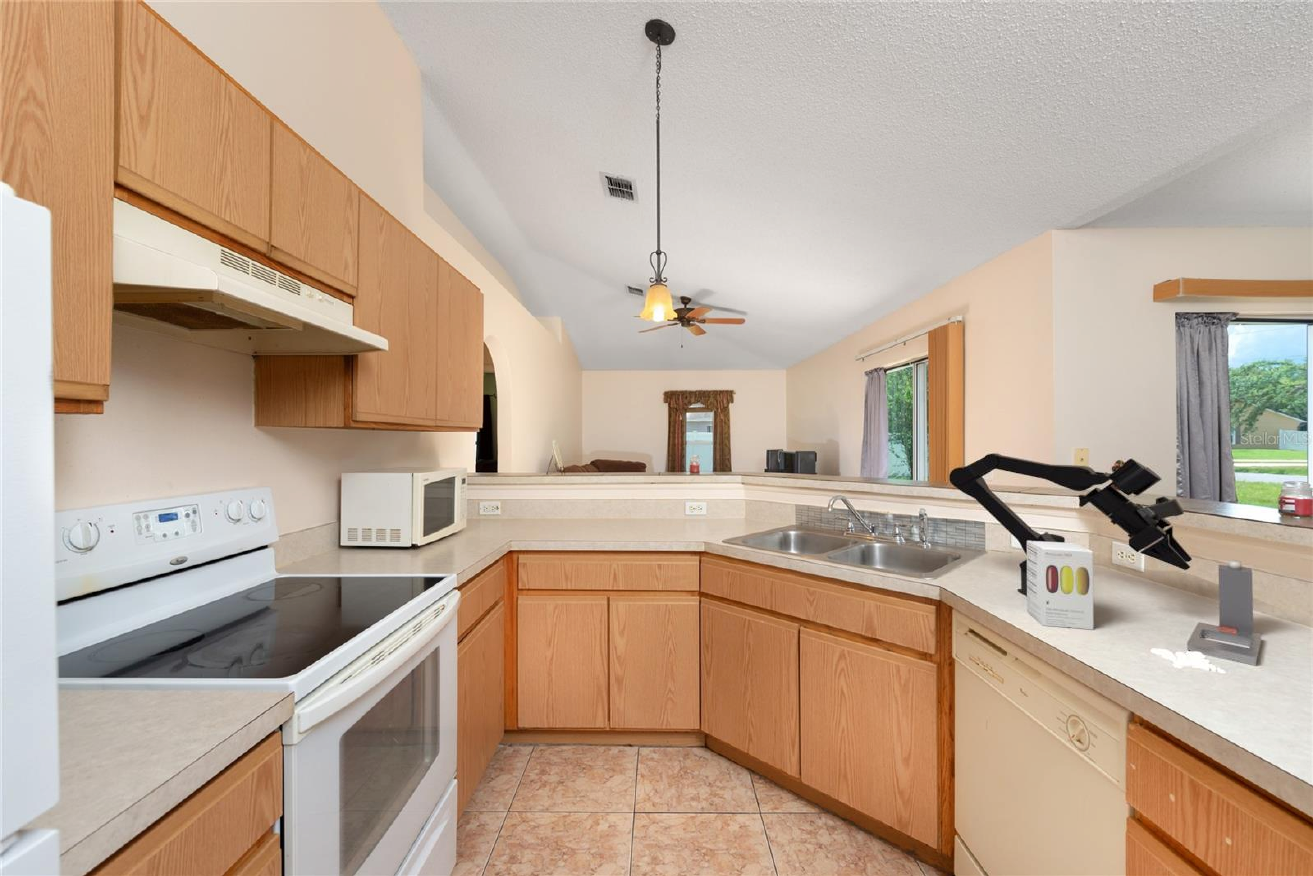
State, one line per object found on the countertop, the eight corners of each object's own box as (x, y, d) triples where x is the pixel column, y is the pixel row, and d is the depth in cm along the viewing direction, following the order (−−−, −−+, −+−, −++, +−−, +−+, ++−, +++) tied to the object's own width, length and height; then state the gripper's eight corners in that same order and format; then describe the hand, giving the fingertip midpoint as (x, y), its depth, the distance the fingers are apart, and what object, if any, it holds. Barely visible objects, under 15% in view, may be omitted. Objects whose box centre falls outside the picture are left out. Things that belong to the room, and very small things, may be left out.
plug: (1219, 631, 104) (1218, 561, 104) (1219, 625, 107) (1218, 557, 107) (1253, 637, 101) (1252, 565, 101) (1252, 631, 104) (1251, 561, 104)
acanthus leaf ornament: (1150, 655, 96) (1150, 645, 96) (1196, 659, 94) (1196, 649, 94) (1177, 672, 89) (1177, 661, 89) (1228, 677, 87) (1227, 666, 87)
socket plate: (1255, 665, 89) (1255, 654, 89) (1187, 650, 96) (1187, 639, 96) (1261, 641, 99) (1261, 631, 99) (1198, 629, 106) (1198, 619, 106)
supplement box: (1042, 626, 109) (1040, 548, 109) (1025, 611, 118) (1024, 539, 118) (1096, 630, 106) (1094, 550, 106) (1075, 615, 115) (1073, 541, 115)
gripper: (1148, 489, 107) (1228, 549, 99) (1156, 482, 119) (1228, 535, 111) (1100, 522, 113) (1171, 581, 105) (1112, 512, 125) (1177, 564, 117)
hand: (1189, 564), depth 109 cm, fingers open, 9 cm apart
